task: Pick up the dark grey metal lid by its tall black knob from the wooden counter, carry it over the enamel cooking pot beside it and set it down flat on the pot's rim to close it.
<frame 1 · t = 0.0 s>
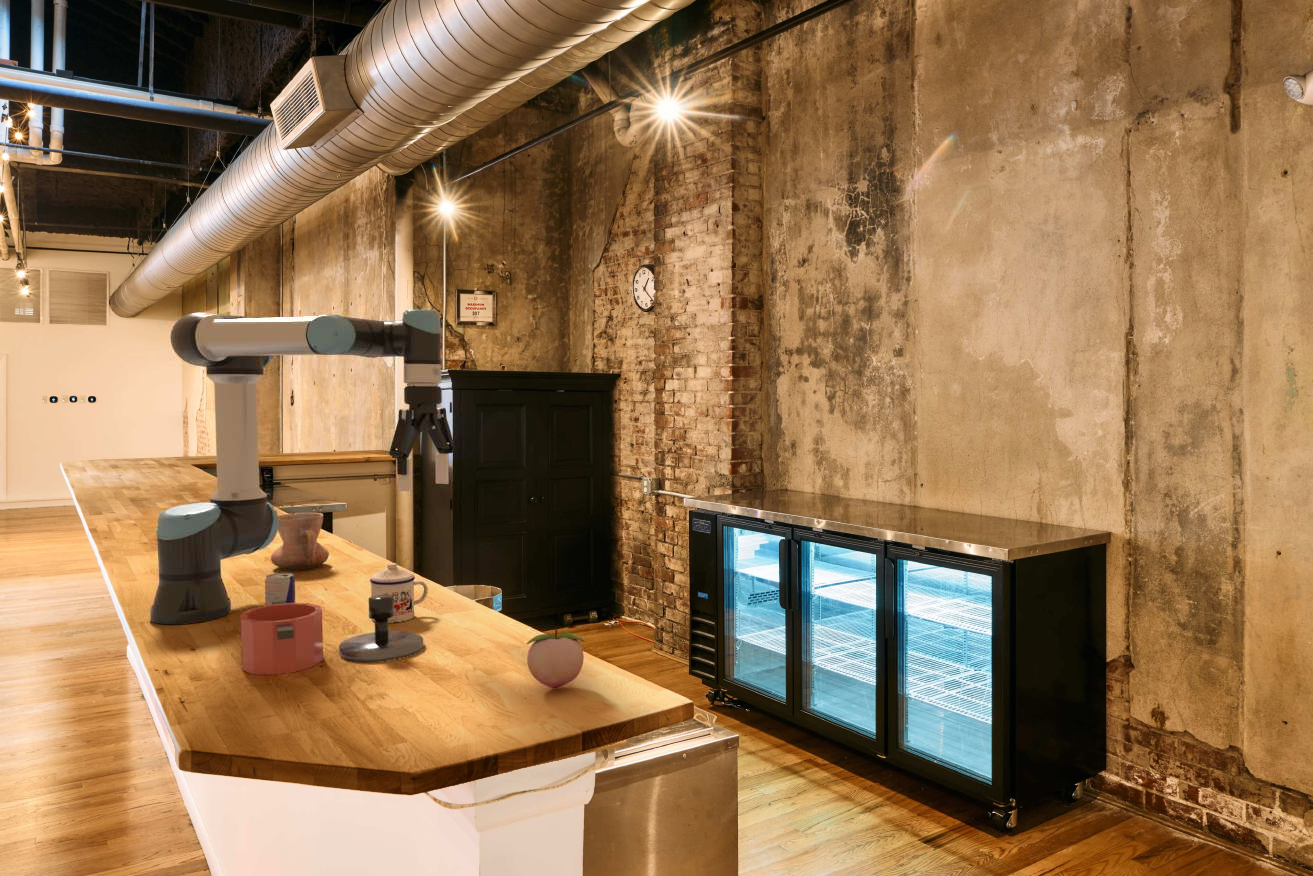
hand: (424, 487, 178), 28 cm above the counter, tool pointing down, fingers open, 13 cm apart
ceramic jug: (301, 568, 230), on the counter
teacup with lid: (400, 618, 181), on the counter
lid: (381, 650, 159), on the counter
energy drink: (281, 636, 167), on the counter
decorative fruit: (557, 690, 138), on the counter
pot: (282, 662, 151), on the counter
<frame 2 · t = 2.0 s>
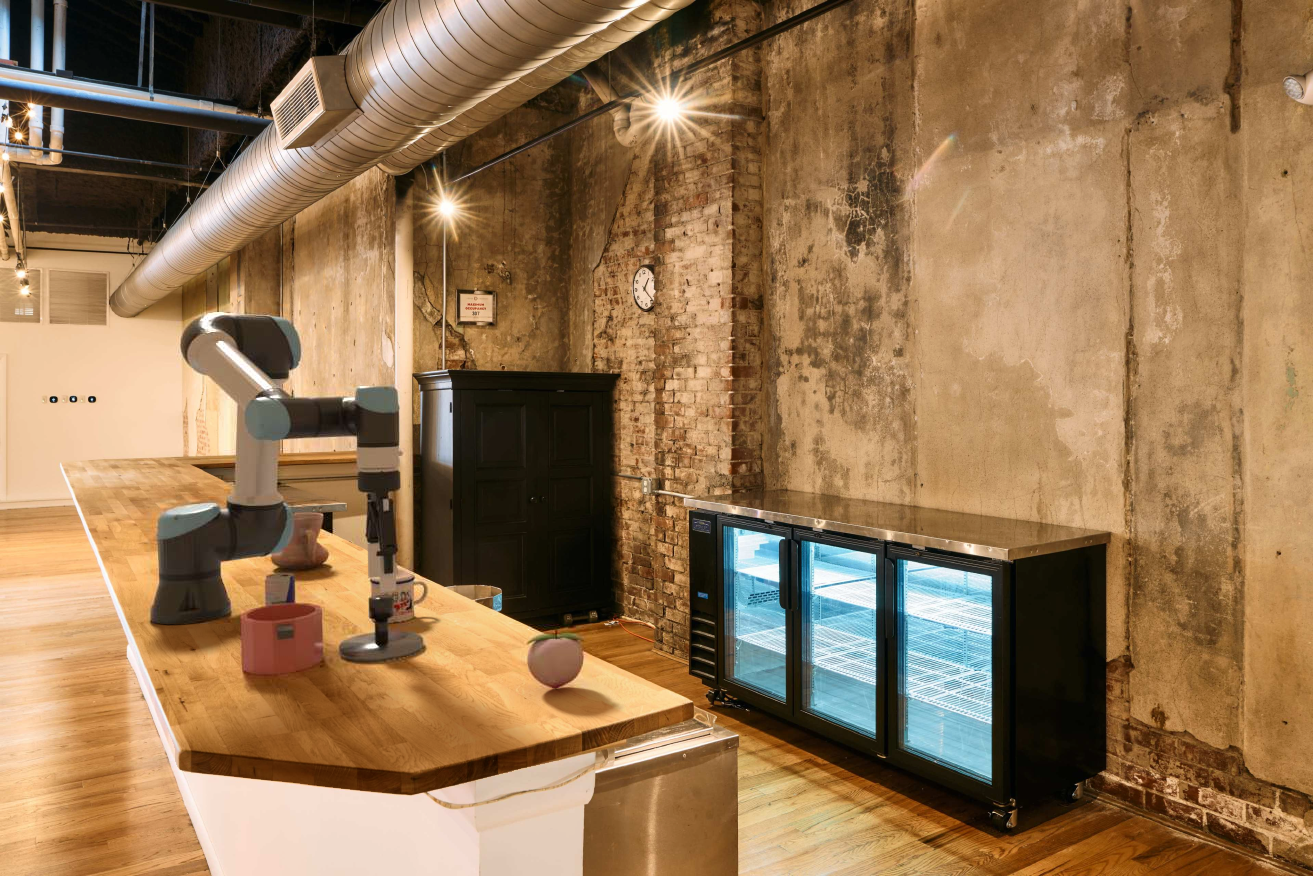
hand: (381, 583, 158), 12 cm above the counter, tool pointing down, fingers open, 13 cm apart
nothing on the counter moved.
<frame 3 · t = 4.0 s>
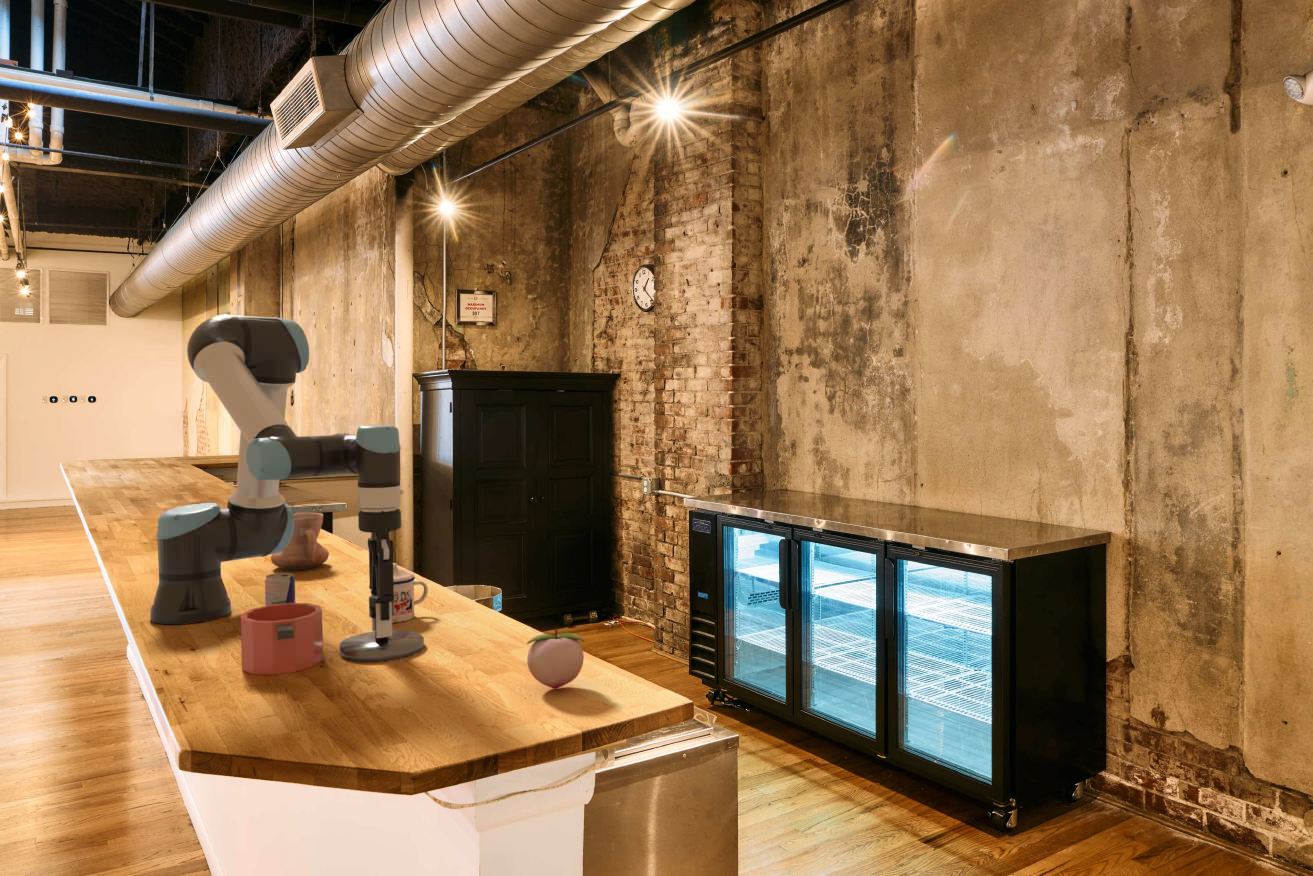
hand: (382, 632, 159), 3 cm above the counter, tool pointing down, fingers closed on lid, 4 cm apart
lid: (382, 649, 159), on the counter, touching gripper
everything else where it was.
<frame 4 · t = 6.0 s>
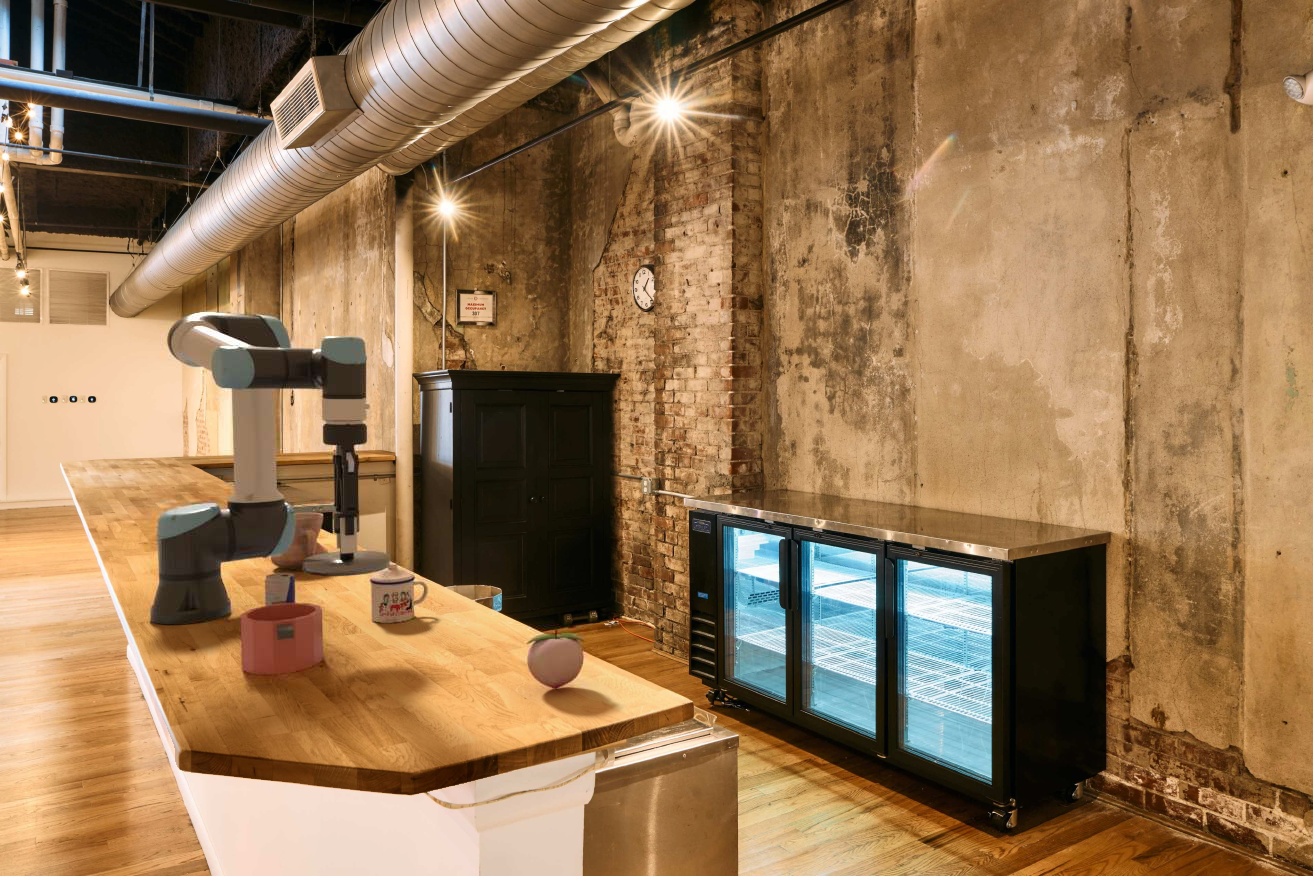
hand: (346, 549, 155), 19 cm above the counter, tool pointing down, fingers closed on lid, 4 cm apart
lid: (347, 566, 156), point 16 cm above the counter, touching gripper
everything else where it was.
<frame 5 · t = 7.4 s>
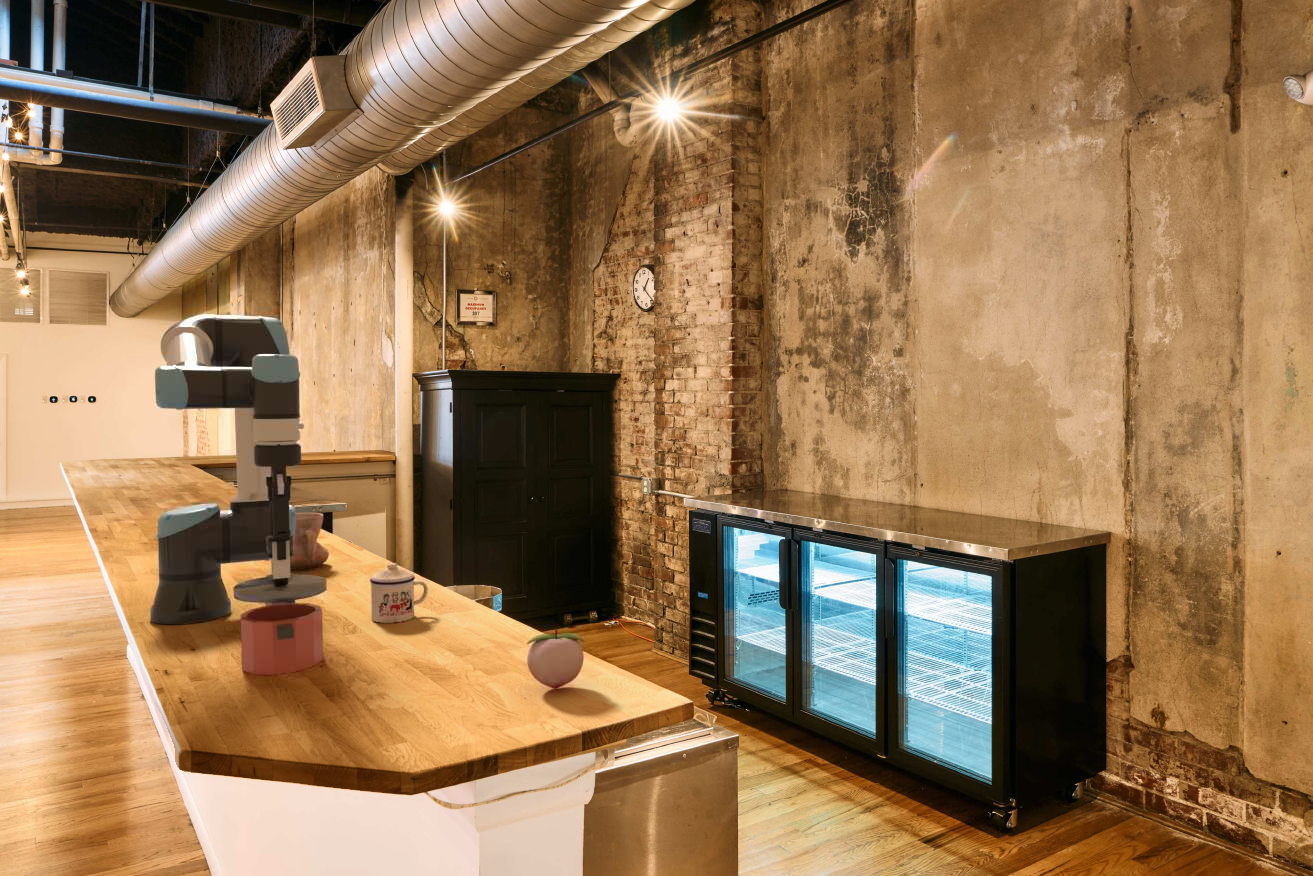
hand: (280, 574, 150), 16 cm above the counter, tool pointing down, fingers closed on lid, 4 cm apart
lid: (281, 592, 150), point 13 cm above the counter, touching gripper
everything else where it was.
when the fingers open (14 cm above the counter, at t = 8.4 s): lid drops 2 cm, resting on pot.
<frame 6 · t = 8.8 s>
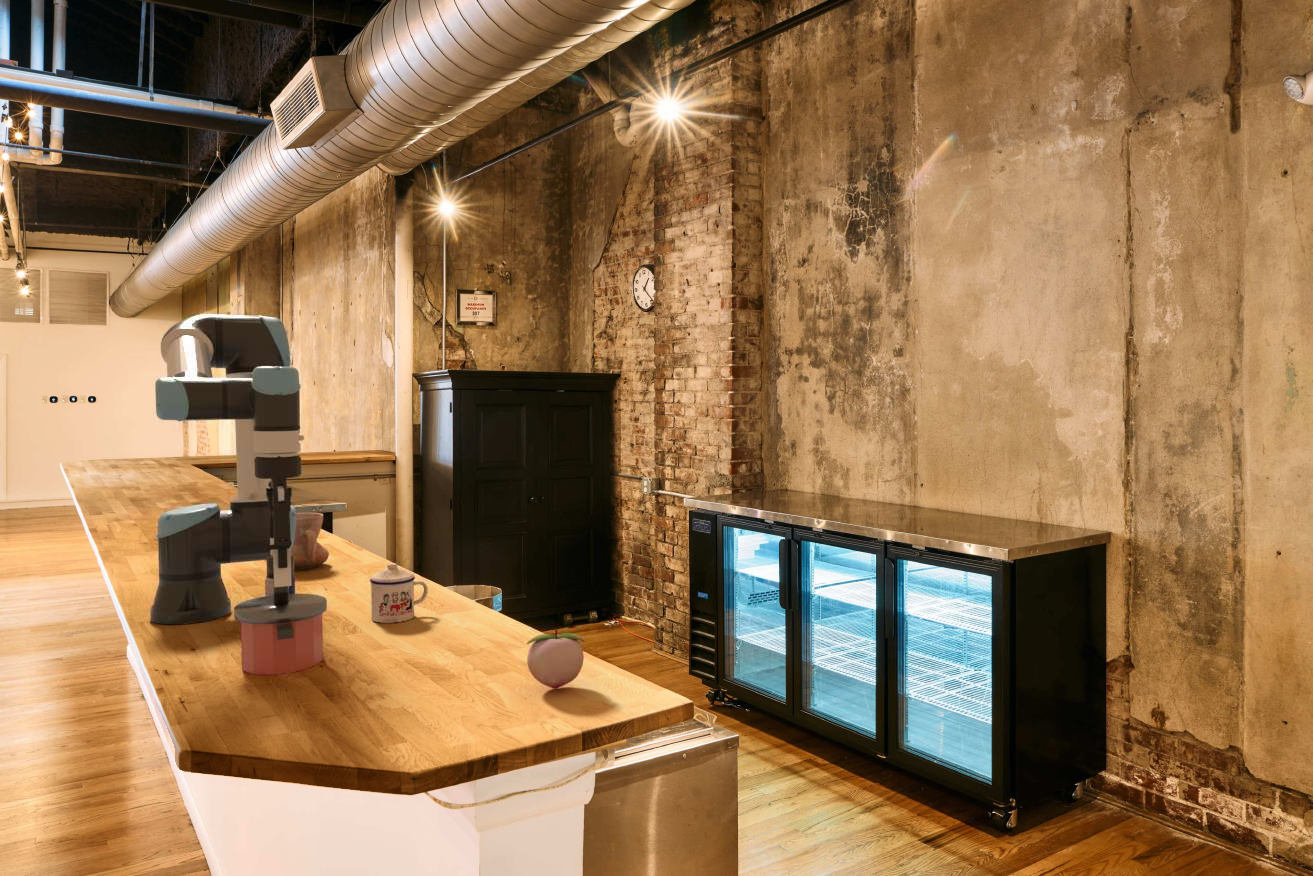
hand: (280, 579, 150), 15 cm above the counter, tool pointing down, fingers open, 10 cm apart
lid: (281, 612, 151), point 9 cm above the counter, touching pot
everything else where it was.
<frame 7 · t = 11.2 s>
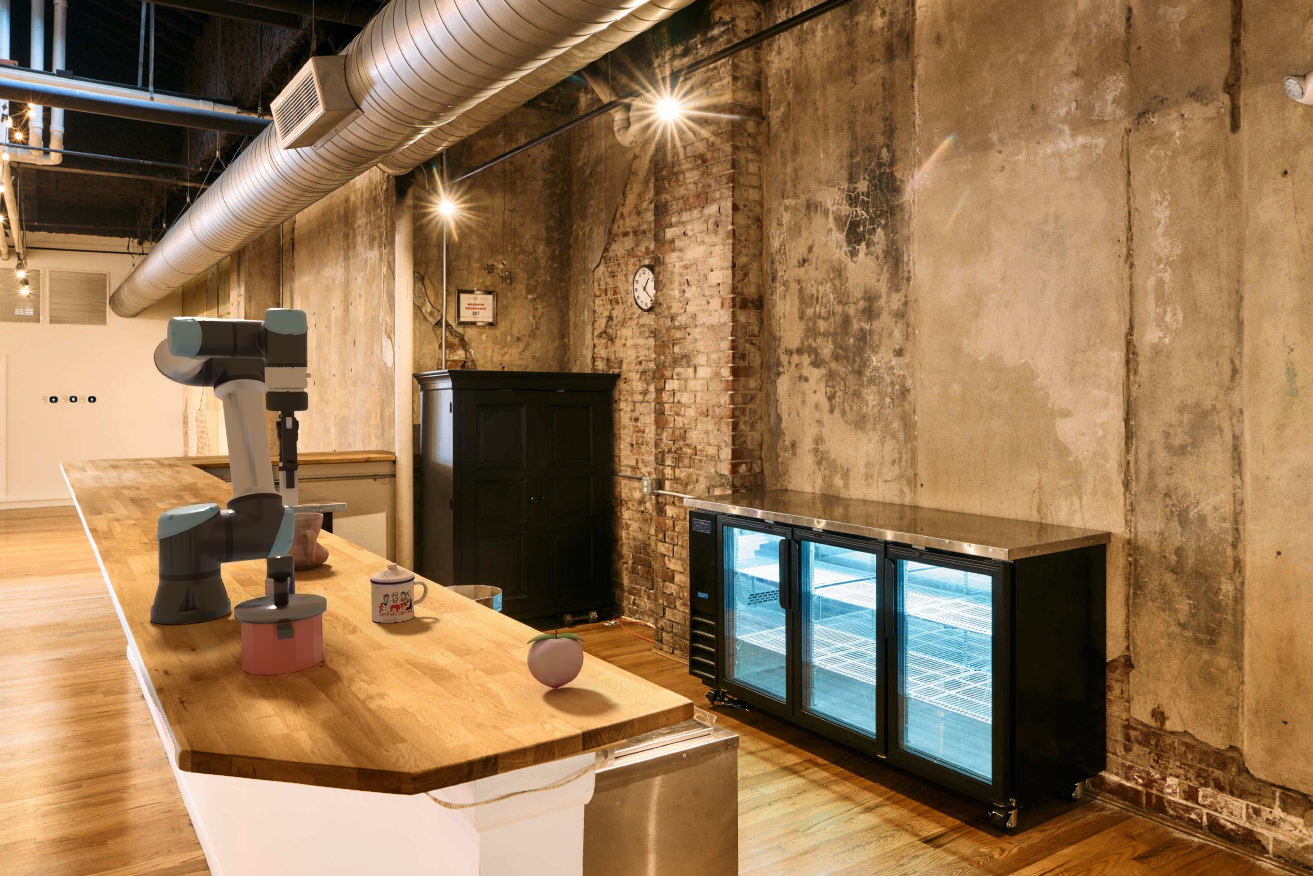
hand: (288, 500, 165), 27 cm above the counter, tool pointing down, fingers open, 13 cm apart
nothing on the counter moved.
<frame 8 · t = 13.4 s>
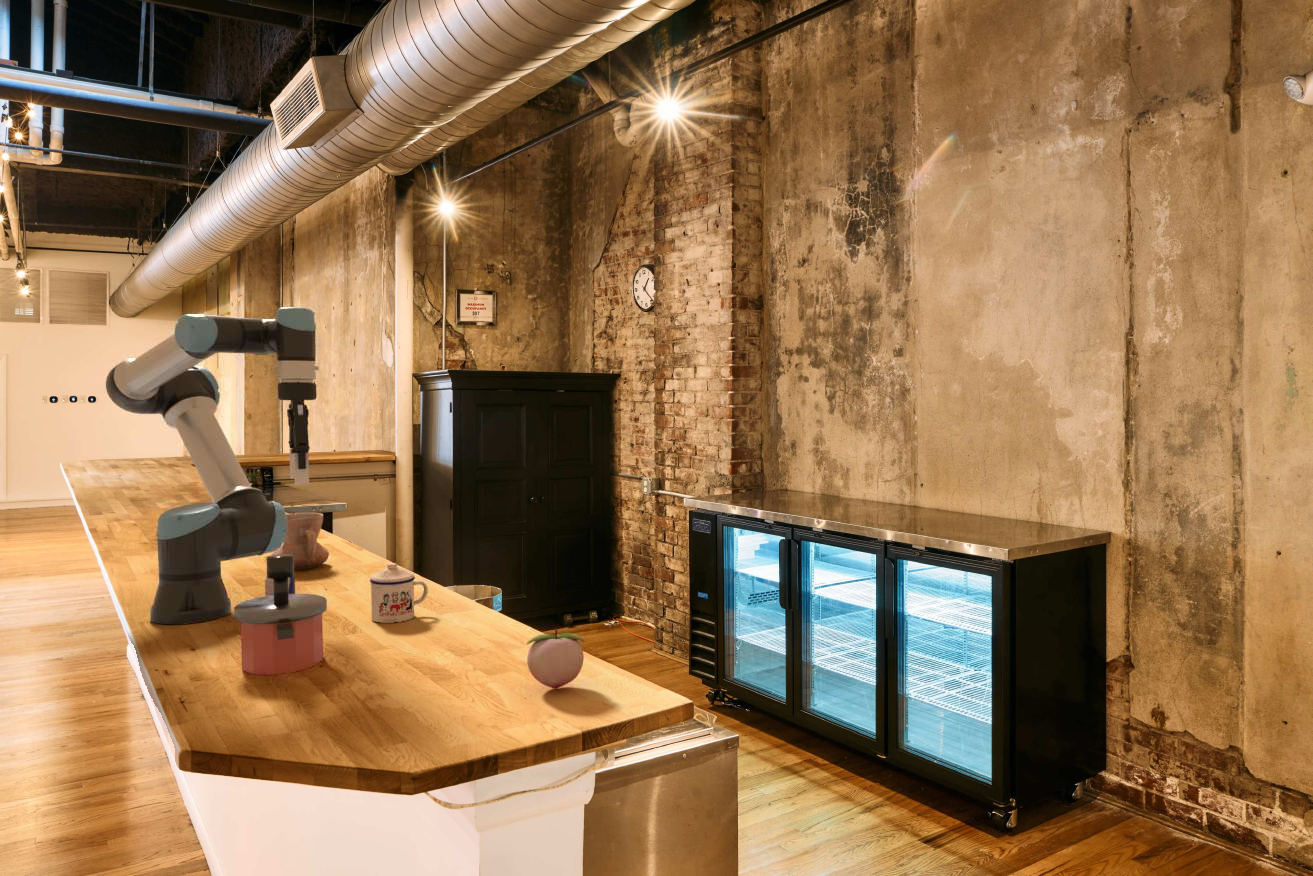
hand: (299, 481, 181), 29 cm above the counter, tool pointing down, fingers open, 13 cm apart
nothing on the counter moved.
at the end: lid 0.0 cm off-centre on the pot, point 9.0 cm above the pot's base; lid tilted 0°; the gripper is holding nothing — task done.
